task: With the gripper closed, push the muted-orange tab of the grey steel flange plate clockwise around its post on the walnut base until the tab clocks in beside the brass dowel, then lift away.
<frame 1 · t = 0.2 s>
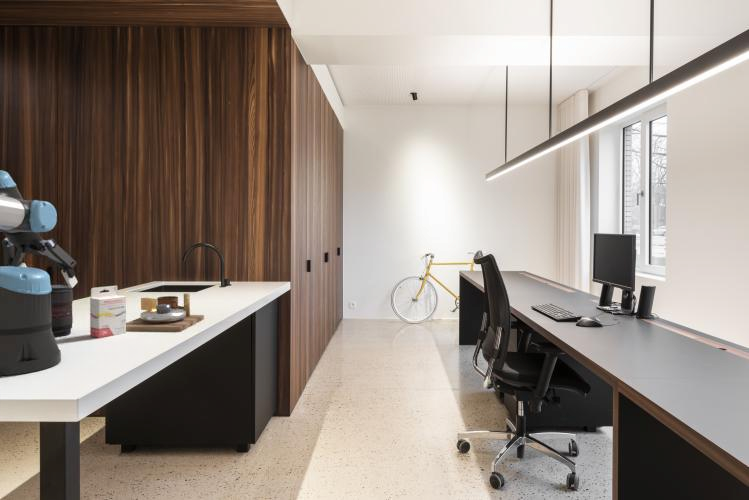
hand: (52, 283, 137), 16 cm above the table, tool tilted 35°, fingers open, 13 cm apart
walnut base: (163, 324, 155), on the table
cup and saucer: (167, 313, 176), on the table
camera lens: (57, 335, 139), on the table
ink cartridge box: (108, 335, 140), on the table
flange plate: (159, 308, 156), point 5 cm above the table, hinge at 0.0°
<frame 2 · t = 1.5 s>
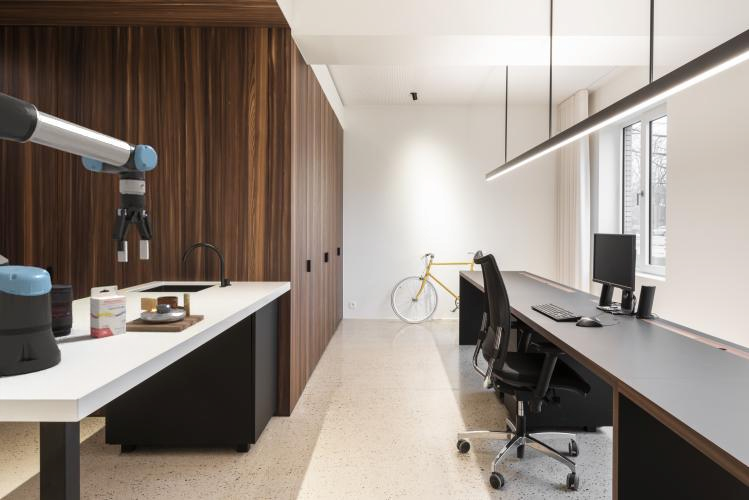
hand: (133, 260, 153), 22 cm above the table, tool pointing down, fingers open, 10 cm apart
nothing on the table moved.
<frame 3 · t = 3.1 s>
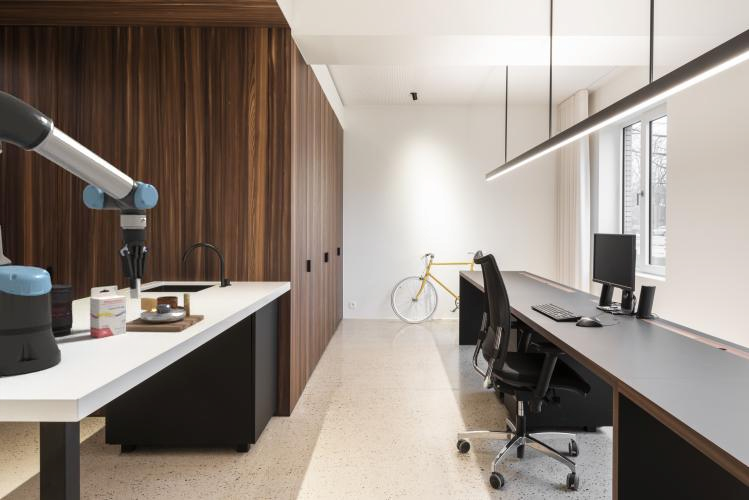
hand: (135, 298, 153), 9 cm above the table, tool pointing down, fingers closed
nothing on the table moved.
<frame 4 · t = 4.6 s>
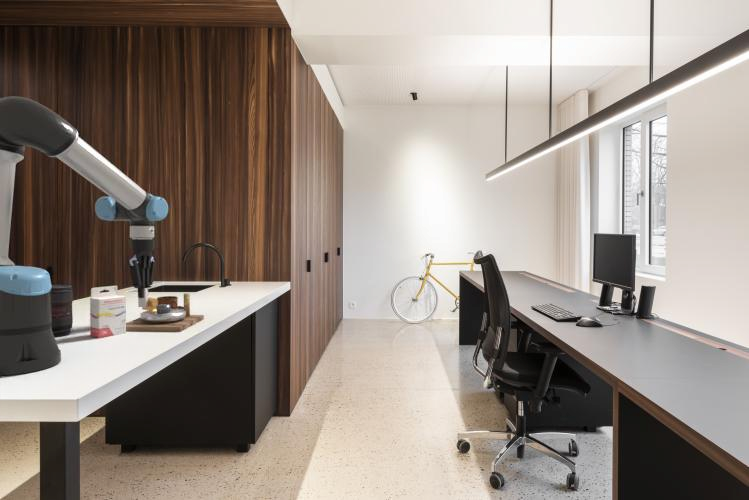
hand: (143, 306, 158), 6 cm above the table, tool pointing down, fingers closed
flange plate: (160, 308, 156), point 5 cm above the table, hinge at 2.9°, touching gripper
everything else where it was.
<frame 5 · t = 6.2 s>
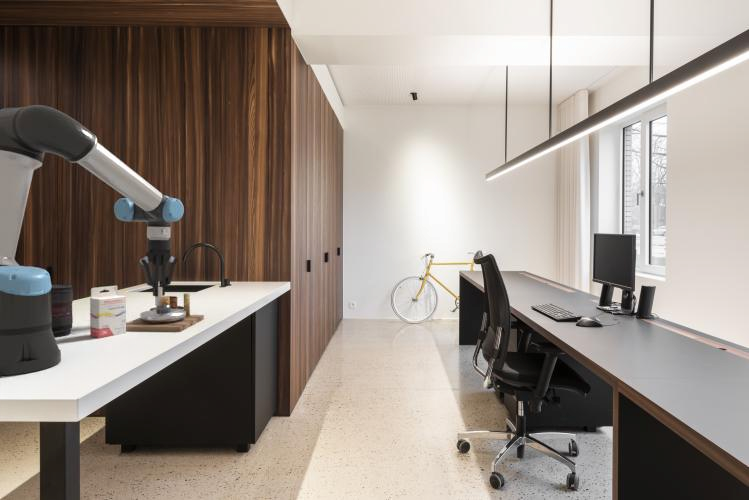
hand: (158, 305, 162), 5 cm above the table, tool pointing down, fingers closed
flange plate: (164, 308, 157), point 5 cm above the table, hinge at 40.6°, touching gripper
everything else where it was.
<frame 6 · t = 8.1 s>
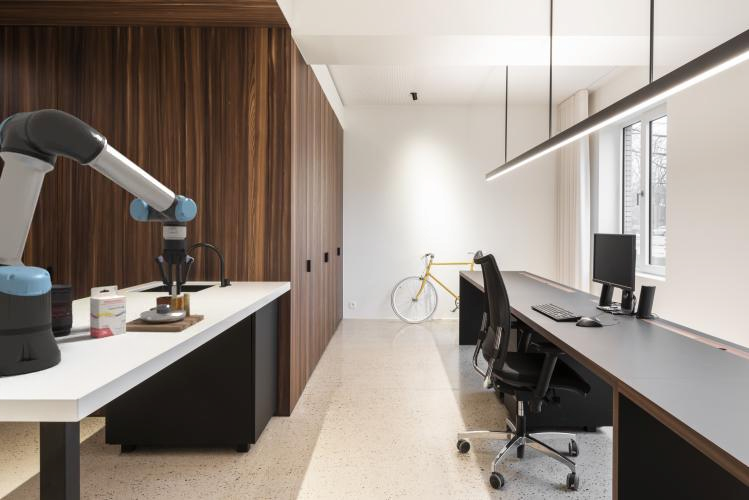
hand: (174, 304, 164), 6 cm above the table, tool pointing down, fingers closed
flange plate: (167, 308, 157), point 5 cm above the table, hinge at 75.0°, touching gripper
everything else where it was.
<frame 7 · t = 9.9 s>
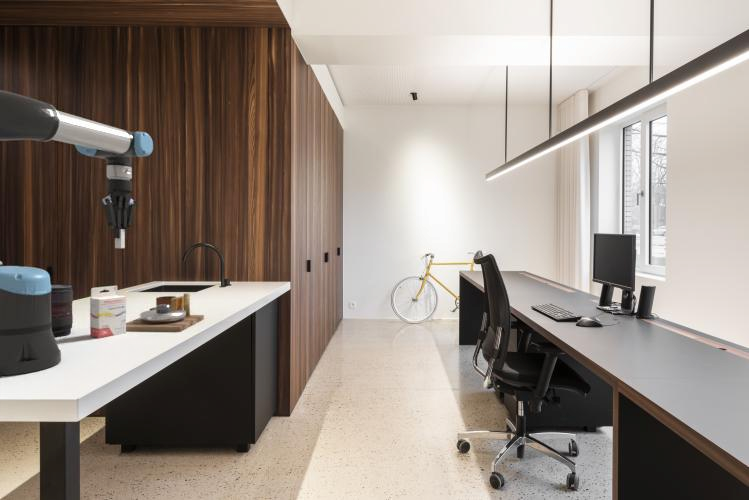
hand: (119, 248, 157), 26 cm above the table, tool pointing down, fingers closed
flange plate: (167, 308, 157), point 5 cm above the table, hinge at 75.4°
everything else where it was.
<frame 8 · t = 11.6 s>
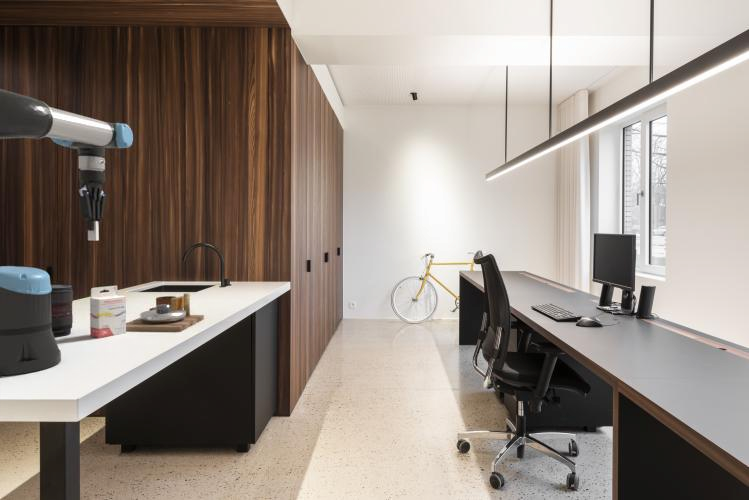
hand: (93, 240, 155), 28 cm above the table, tool pointing down, fingers closed
nothing on the table moved.
at the end: flange plate at +75° (first picture: +0°); ink cartridge box moved 0.2 cm from its start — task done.
